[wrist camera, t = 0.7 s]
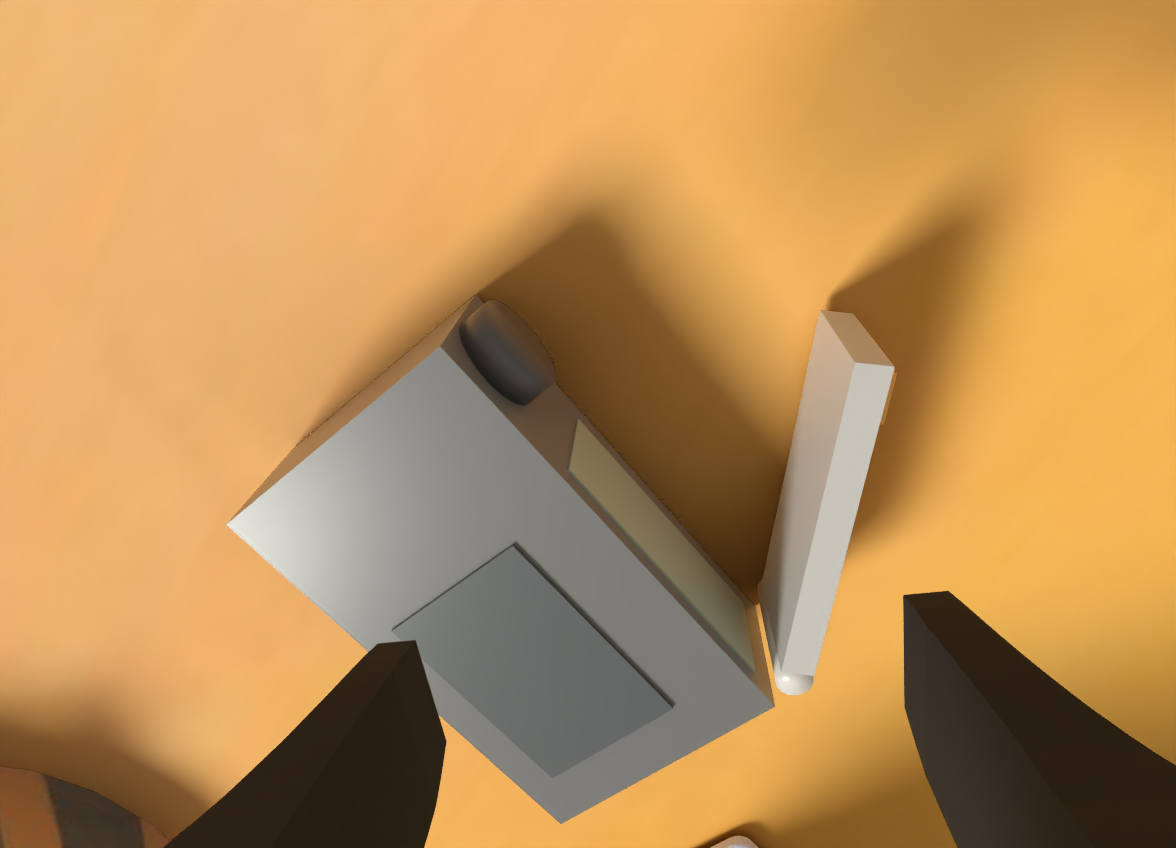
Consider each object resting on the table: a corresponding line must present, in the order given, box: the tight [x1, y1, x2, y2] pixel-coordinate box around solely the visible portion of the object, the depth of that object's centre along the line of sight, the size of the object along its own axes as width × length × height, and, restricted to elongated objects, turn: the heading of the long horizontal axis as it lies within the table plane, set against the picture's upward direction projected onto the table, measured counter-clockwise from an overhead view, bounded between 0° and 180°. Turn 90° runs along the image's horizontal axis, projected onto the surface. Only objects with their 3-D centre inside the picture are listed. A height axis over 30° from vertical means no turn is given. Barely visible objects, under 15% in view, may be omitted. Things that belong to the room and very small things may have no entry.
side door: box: [757, 310, 897, 695], centre depth 20 cm, size 9×1×4 cm, turn 175°
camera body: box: [226, 295, 775, 824], centre depth 22 cm, size 12×8×4 cm, turn 40°
